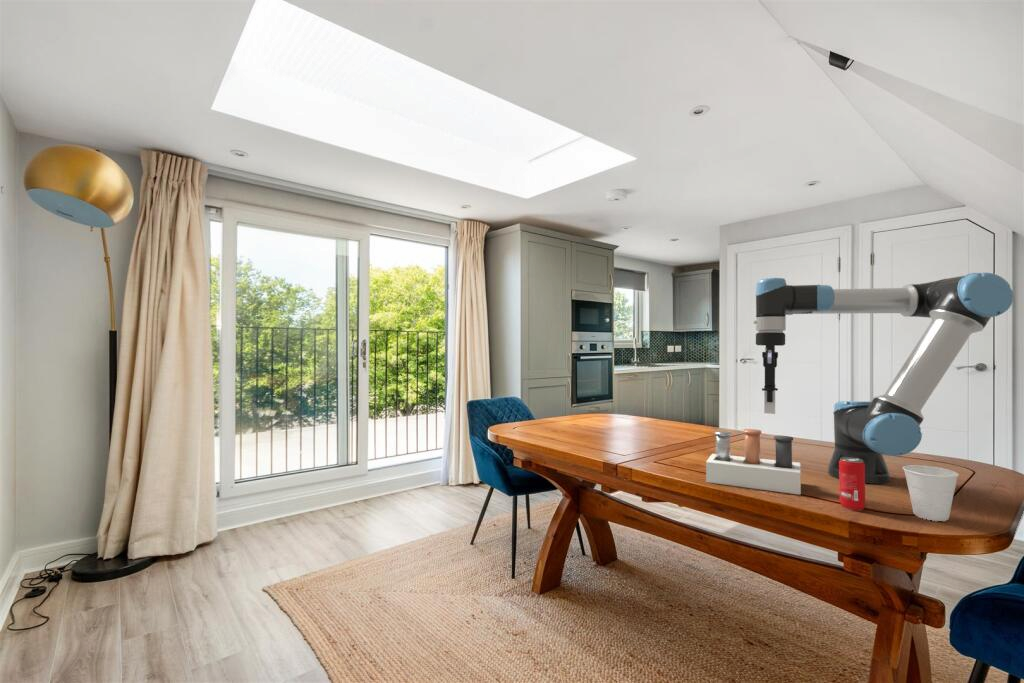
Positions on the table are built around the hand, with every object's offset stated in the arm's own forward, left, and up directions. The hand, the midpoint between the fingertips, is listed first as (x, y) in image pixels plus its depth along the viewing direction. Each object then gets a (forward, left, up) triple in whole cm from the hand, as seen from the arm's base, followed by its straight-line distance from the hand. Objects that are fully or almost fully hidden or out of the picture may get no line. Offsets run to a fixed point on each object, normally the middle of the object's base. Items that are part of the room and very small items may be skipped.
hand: (769, 413), depth 136 cm
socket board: (+5, 0, -21) cm, 21 cm away
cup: (-33, +10, -21) cm, 41 cm away
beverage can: (-18, +11, -21) cm, 30 cm away
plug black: (-3, 0, -16) cm, 17 cm away
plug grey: (+13, 0, -16) cm, 21 cm away
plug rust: (+5, 0, -15) cm, 16 cm away
